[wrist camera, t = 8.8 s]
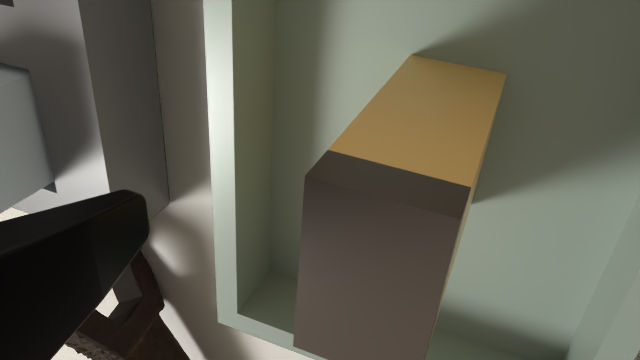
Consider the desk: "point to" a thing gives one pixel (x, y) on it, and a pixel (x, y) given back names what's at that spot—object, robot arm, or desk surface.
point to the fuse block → (91, 96)
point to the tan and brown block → (392, 213)
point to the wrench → (129, 322)
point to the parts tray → (495, 175)
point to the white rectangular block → (20, 139)
